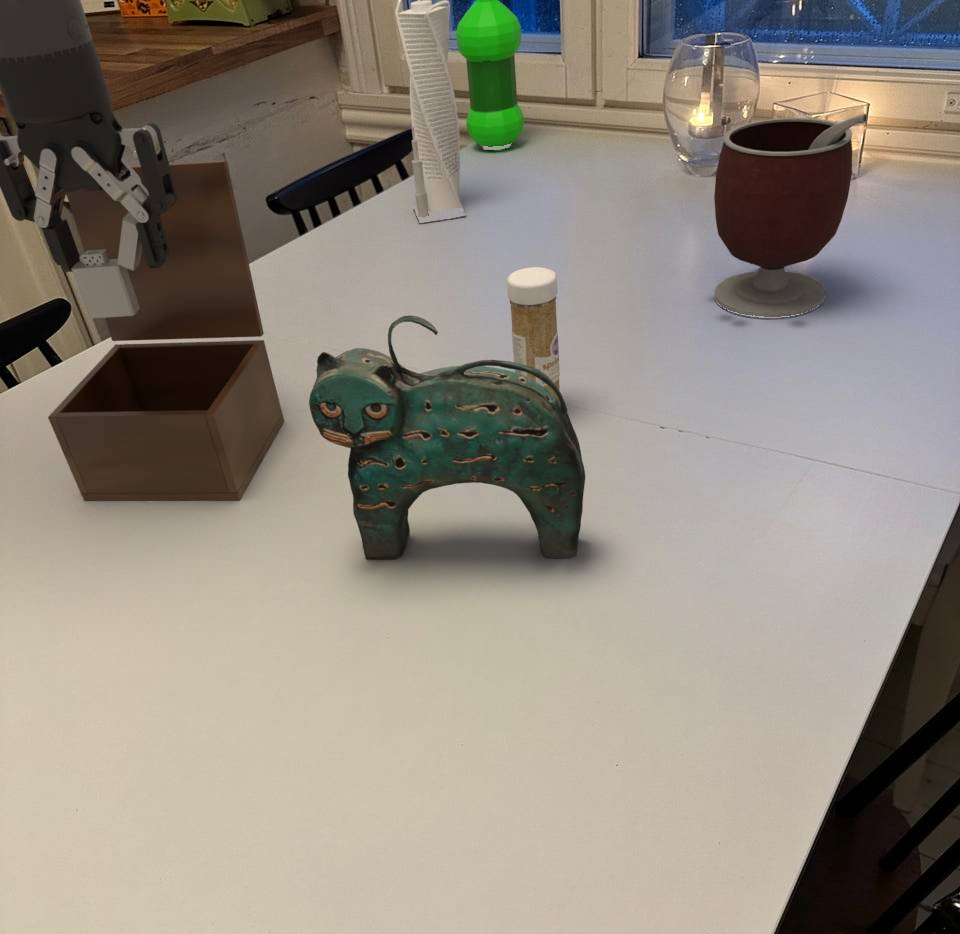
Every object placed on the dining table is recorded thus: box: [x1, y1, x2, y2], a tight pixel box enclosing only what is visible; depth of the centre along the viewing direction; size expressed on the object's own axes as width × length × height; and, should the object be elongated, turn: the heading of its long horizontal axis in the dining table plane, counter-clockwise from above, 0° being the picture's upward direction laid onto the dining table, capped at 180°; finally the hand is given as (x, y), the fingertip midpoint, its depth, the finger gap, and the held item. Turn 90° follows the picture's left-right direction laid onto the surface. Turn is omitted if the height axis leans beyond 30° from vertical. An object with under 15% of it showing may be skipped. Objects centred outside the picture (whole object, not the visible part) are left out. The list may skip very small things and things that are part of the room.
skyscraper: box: [394, 0, 467, 225], centre depth 134 cm, size 8×8×28 cm
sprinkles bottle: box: [506, 266, 561, 402], centre depth 91 cm, size 5×5×13 cm
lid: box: [66, 159, 265, 342], centre depth 89 cm, size 15×16×1 cm
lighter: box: [71, 212, 142, 319], centre depth 81 cm, size 7×2×8 cm, turn 87°
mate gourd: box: [713, 113, 868, 320], centre depth 103 cm, size 16×14×20 cm
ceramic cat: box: [308, 315, 586, 560], centre depth 73 cm, size 20×6×20 cm, turn 82°
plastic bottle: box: [455, 0, 525, 152], centre depth 158 cm, size 10×10×25 cm
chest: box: [47, 339, 285, 501], centre depth 92 cm, size 15×16×9 cm
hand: (115, 266), depth 81 cm, fingers closed on lighter, 7 cm apart
